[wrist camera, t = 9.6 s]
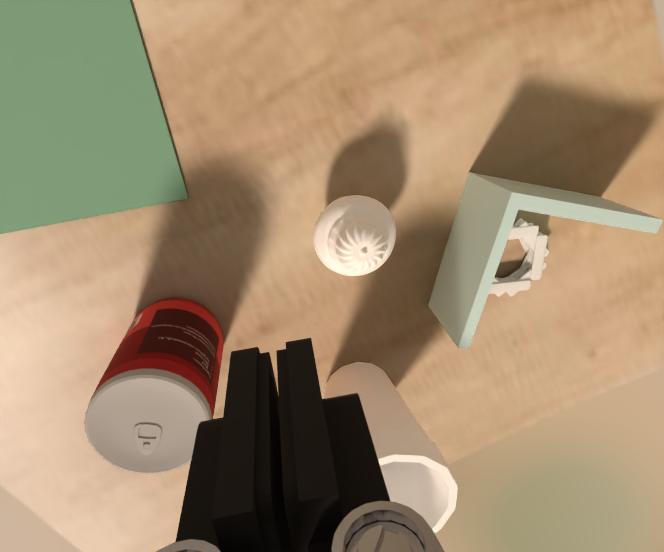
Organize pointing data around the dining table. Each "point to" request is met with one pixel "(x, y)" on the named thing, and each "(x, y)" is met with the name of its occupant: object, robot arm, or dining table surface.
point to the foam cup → (399, 444)
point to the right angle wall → (491, 237)
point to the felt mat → (78, 115)
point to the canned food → (157, 388)
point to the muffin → (354, 235)
